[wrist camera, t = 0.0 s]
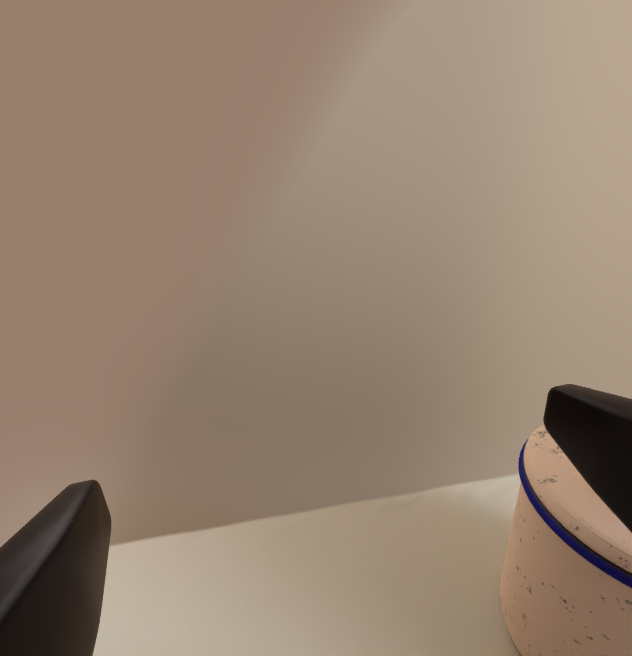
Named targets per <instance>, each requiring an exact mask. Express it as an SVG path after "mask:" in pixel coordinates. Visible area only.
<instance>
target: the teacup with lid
mask: <svg viewBox="0 0 632 656" xmlns="http://www.w3.org/2000/svg"><path fill="white" fill-rule="evenodd" d="M519 475H520V479H521V484H520V489H519V493H518V498H517V503H516V508H515V513H514V518H513V523H512V528H511V532H510V537H509V542H508V547H507V552H506V557H505V562H504V566H503V571H502V576H501V581H500V602H501V609H502V613H503V617H504V620H505V623H506V626H507V628H508V631H509V633H510V635H511V638H512V640H513V642H514V643H515V645H516V647H517V649H518V651H519V652H520V654H521V656H632V533H631V532H630V531H629V529H628V528H627V527H626V526H625V525H624V524H623V523H622V522H621V521H620V520H619V519H618V517H617V516H616V515H615V514H614V513H613V512H612V511H611V510H610V509H609V508H608V507H607V505H606V504H605V503H604V502H603V501H602V500H601V499H600V498H599V497H598V495H597V494H596V493H595V492H594V491H593V490H592V488H591V487H590V486H589V485H588V483H587V482H586V481H585V480H584V478H583V477H582V476H581V474H580V473H579V472H578V471H577V469H576V468H575V467H574V465H573V464H572V463H571V462H570V460H569V459H568V458H567V456H566V455H565V454H564V453H563V451H562V450H561V449H560V447H559V446H558V445H557V443H556V442H555V441H554V440H553V438H552V437H551V436H550V434H549V433H548V432H547V430H546V428H545V426H544V424H543V425H542V426H540V427H539V428H538V429H537V430H535V431H534V433H533V434H532V435H531V436H530V438H529V439H528V440H527V441H526V442H525V444H524V445H523V448H522V450H521V452H520V457H519Z"/></svg>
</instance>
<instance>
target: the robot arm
mask: <svg viewBox="0 0 632 656" xmlns="http://www.w3.org/2000/svg"><path fill="white" fill-rule="evenodd" d="M544 426H545V428H546V430H547V432H548V433H549V434H550V436H551V437H552V438H553V440H554V441H555V442H556V443H557V445H558V446H559V447H560V449H561V450H562V451H563V453H564V454H565V455H566V456H567V458H568V459H569V460H570V462H571V463H572V464H573V465H574V467H575V468H576V469H577V471H578V472H579V473H580V474H581V476H582V477H583V478H584V480H585V481H586V482H587V483H588V485H589V486H590V487H591V488H592V490H593V491H594V492H595V493H596V494H597V495H598V497H599V498H600V499H601V500H602V501H603V502H604V503H605V504H606V505H607V507H608V508H609V509H610V510H611V511H612V512H613V513H614V514H615V515H616V516H617V517H618V519H619V520H620V521H621V522H622V523H623V524H624V525H625V526H626V527H627V528H628V529H629V531H630V532H631V533H632V399H629V398H625V397H621V396H617V395H613V394H609V393H605V392H601V391H597V390H593V389H589V388H585V387H581V386H577V385H573V384H565V385H561V386H556V387H553V388H551V389H550V391H549V393H548V397H547V402H546V408H545V413H544ZM110 535H111V517H110V513H109V510H108V507H107V504H106V501H105V498H104V495H103V492H102V489H101V486H100V484H99V483H98V482H97V481H95V480H89V481H84V482H78V483H74V484H71V485H69V486H68V487H66V488H65V489H64V490H63V491H62V492H61V493H60V494H59V495H58V496H56V497H55V498H54V499H53V500H52V501H51V502H50V503H49V504H48V505H46V506H45V507H44V508H43V509H42V510H41V511H40V512H39V513H38V514H37V515H36V516H34V518H32V519H31V520H30V521H29V522H28V523H27V524H26V525H25V526H23V528H21V529H20V530H19V531H18V532H17V533H16V534H15V535H14V536H13V537H11V538H10V539H9V540H8V541H7V542H6V543H5V544H4V545H3V546H2V547H0V656H92V655H93V651H94V646H95V642H96V637H97V633H98V628H99V623H100V616H101V609H102V601H103V593H104V584H105V576H106V568H107V560H108V551H109V543H110Z"/></svg>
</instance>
